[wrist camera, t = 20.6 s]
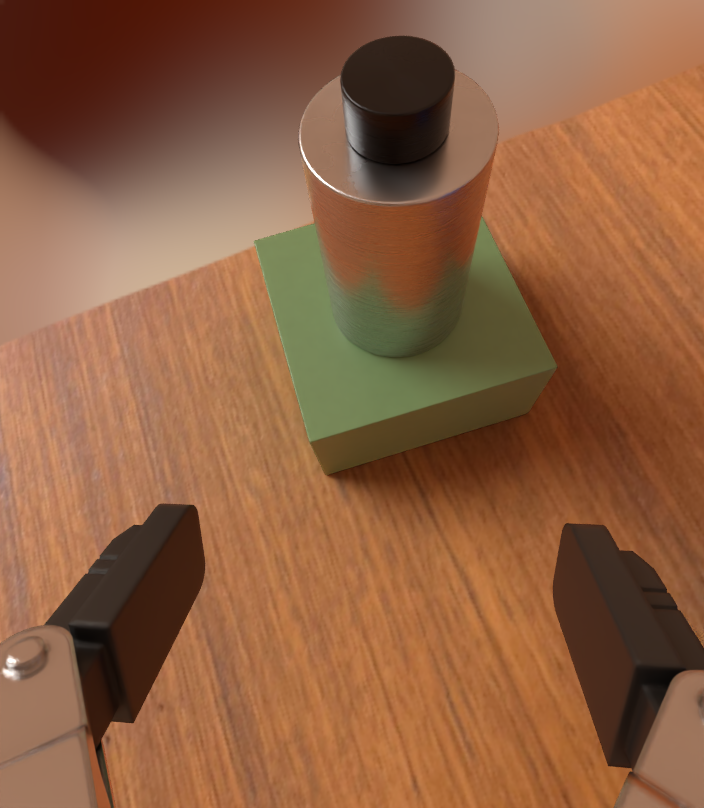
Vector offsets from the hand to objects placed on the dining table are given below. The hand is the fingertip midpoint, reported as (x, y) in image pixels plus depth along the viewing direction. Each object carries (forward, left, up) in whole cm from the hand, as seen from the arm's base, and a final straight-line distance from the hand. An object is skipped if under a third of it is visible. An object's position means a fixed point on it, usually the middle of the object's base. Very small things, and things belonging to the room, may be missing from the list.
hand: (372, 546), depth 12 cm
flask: (+2, +11, -7) cm, 13 cm away
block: (+2, +11, -12) cm, 16 cm away
